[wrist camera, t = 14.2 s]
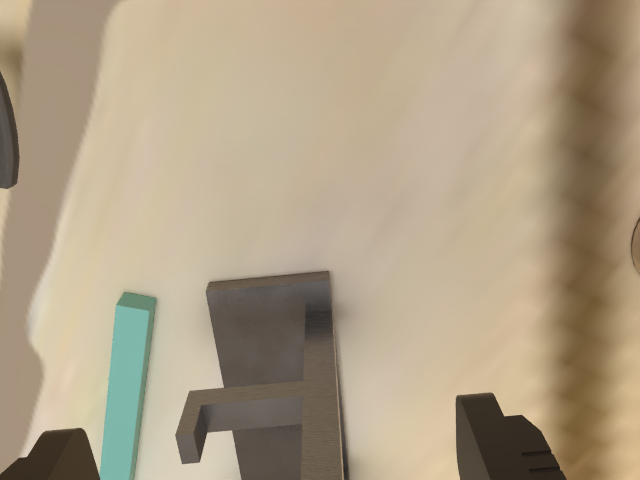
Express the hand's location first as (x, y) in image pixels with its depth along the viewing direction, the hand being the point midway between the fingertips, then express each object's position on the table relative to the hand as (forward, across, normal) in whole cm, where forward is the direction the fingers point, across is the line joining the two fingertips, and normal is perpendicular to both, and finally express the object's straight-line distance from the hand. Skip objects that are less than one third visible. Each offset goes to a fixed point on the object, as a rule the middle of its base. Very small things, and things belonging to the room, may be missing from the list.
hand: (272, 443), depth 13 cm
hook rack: (+30, +3, +21) cm, 37 cm away
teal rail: (+30, +17, +21) cm, 41 cm away
